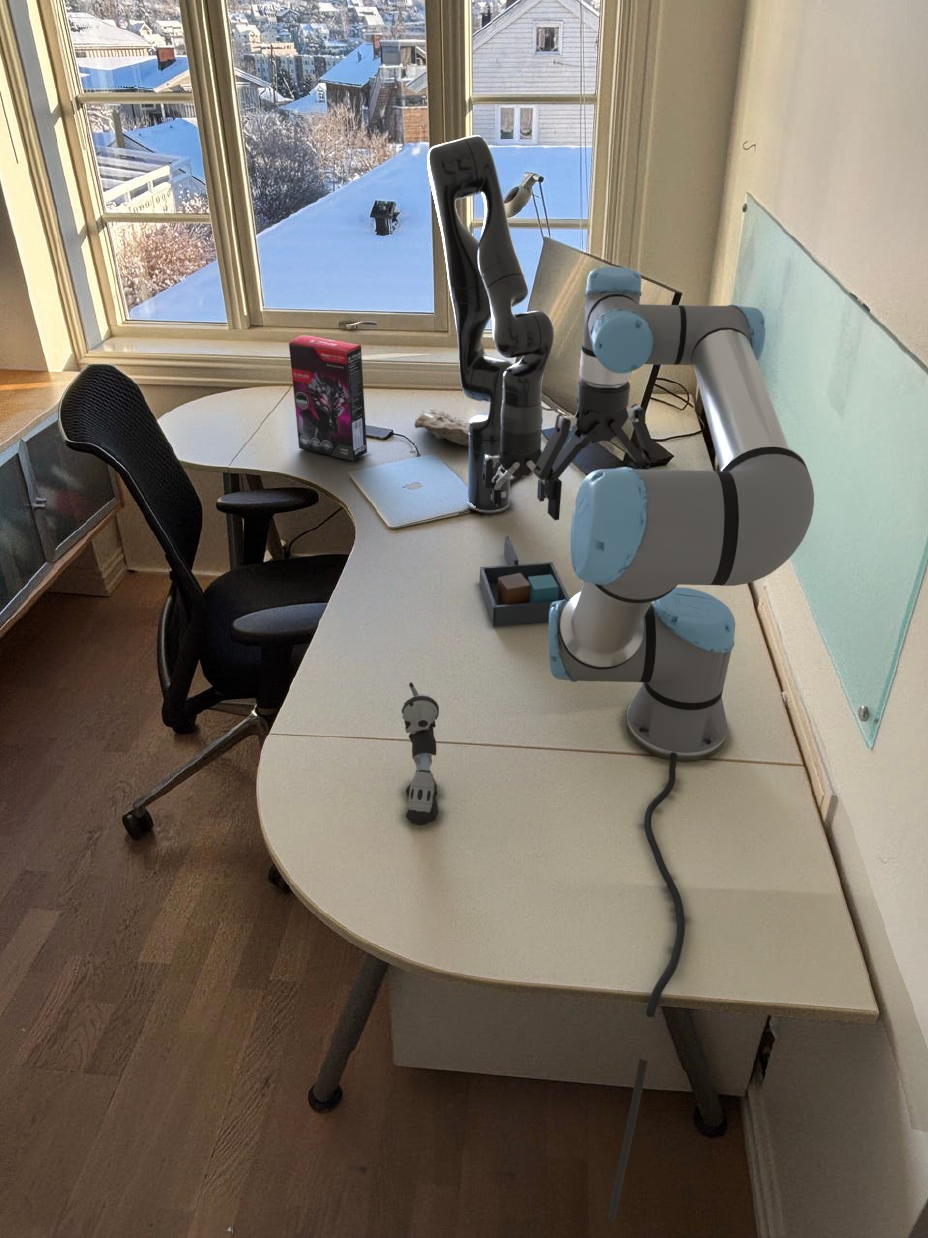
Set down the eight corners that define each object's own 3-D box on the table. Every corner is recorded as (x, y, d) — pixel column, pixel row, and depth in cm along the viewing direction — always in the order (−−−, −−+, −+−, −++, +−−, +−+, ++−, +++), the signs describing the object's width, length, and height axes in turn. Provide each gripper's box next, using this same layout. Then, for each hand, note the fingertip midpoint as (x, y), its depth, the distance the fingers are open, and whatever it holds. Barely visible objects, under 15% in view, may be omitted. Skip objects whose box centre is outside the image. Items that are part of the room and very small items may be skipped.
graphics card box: (296, 449, 231) (285, 340, 216) (313, 439, 236) (303, 333, 221) (353, 463, 224) (346, 352, 209) (369, 453, 229) (363, 343, 214)
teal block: (556, 614, 169) (558, 586, 166) (532, 617, 168) (534, 589, 165) (549, 601, 173) (551, 574, 169) (526, 604, 172) (527, 576, 168)
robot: (441, 856, 121) (440, 742, 110) (404, 858, 121) (400, 743, 110) (437, 755, 138) (436, 646, 127) (405, 756, 137) (401, 647, 126)
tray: (569, 620, 168) (571, 597, 166) (492, 626, 167) (493, 603, 164) (539, 554, 188) (541, 532, 186) (471, 559, 186) (471, 537, 184)
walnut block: (529, 612, 169) (530, 584, 166) (506, 617, 168) (507, 589, 165) (519, 600, 173) (520, 572, 170) (497, 604, 172) (498, 577, 168)
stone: (398, 433, 232) (403, 409, 229) (417, 425, 245) (422, 402, 243) (477, 457, 228) (483, 433, 226) (491, 447, 242) (497, 425, 239)
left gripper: (552, 411, 173) (548, 489, 182) (478, 419, 171) (478, 497, 180) (564, 427, 167) (560, 507, 176) (488, 435, 165) (488, 515, 174)
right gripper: (666, 363, 141) (649, 488, 153) (516, 380, 134) (510, 511, 146) (692, 379, 135) (673, 508, 147) (536, 398, 128) (529, 532, 140)
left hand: (519, 502), depth 178 cm, fingers open, 8 cm apart
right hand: (592, 510), depth 147 cm, fingers open, 13 cm apart
